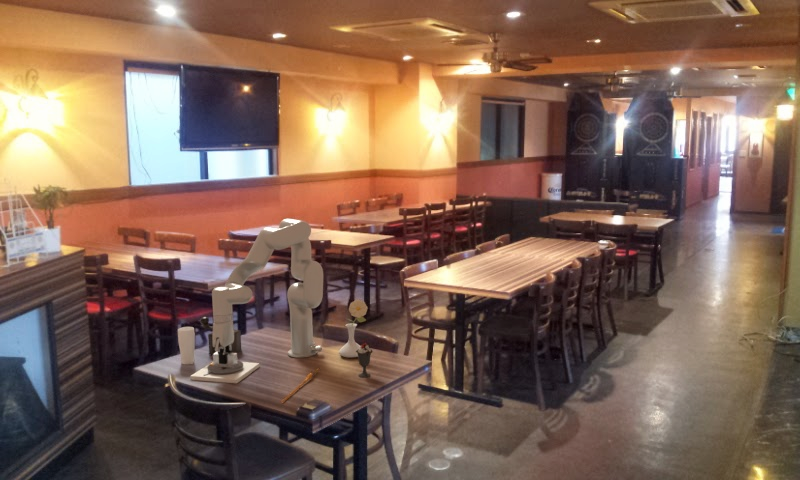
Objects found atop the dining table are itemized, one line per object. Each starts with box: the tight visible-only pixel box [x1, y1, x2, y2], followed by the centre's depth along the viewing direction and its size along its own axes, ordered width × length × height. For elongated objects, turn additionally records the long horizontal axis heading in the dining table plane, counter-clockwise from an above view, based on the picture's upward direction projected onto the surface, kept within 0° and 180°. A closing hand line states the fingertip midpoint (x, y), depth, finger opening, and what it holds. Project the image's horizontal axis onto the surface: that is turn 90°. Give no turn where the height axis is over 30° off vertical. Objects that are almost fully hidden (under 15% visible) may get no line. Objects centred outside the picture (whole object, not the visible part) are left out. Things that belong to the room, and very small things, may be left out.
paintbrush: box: [280, 367, 321, 404], centre depth 261 cm, size 1×35×3 cm, turn 164°
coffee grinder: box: [199, 316, 242, 356], centre depth 300 cm, size 16×11×18 cm
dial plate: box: [190, 361, 260, 384], centre depth 277 cm, size 20×20×2 cm
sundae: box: [356, 339, 373, 378], centre depth 271 cm, size 7×7×15 cm
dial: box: [208, 352, 243, 374], centre depth 277 cm, size 14×14×6 cm
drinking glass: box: [177, 326, 196, 366], centre depth 289 cm, size 7×7×15 cm
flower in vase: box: [338, 299, 369, 359], centre depth 296 cm, size 13×11×25 cm
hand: (225, 361), depth 277 cm, fingers closed on dial, 3 cm apart
